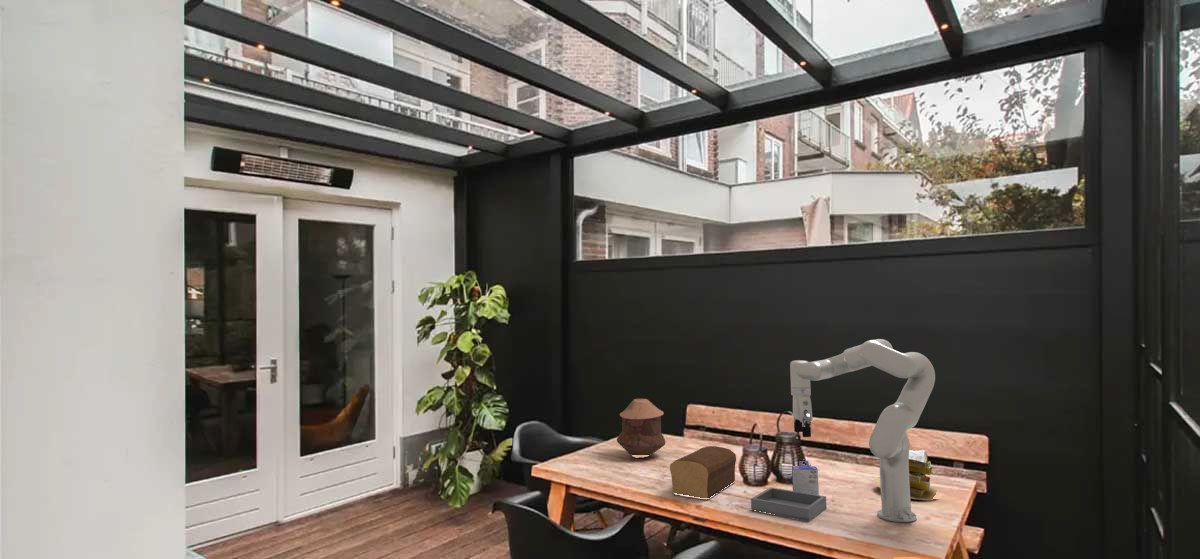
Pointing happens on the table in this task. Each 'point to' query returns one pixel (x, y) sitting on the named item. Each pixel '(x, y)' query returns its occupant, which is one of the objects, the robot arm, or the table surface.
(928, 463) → the stacked food on plate
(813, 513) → the tray
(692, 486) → the bread
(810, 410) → the robot arm
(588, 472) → the table surface
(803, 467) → the ink cartridge box
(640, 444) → the pottery vessel
